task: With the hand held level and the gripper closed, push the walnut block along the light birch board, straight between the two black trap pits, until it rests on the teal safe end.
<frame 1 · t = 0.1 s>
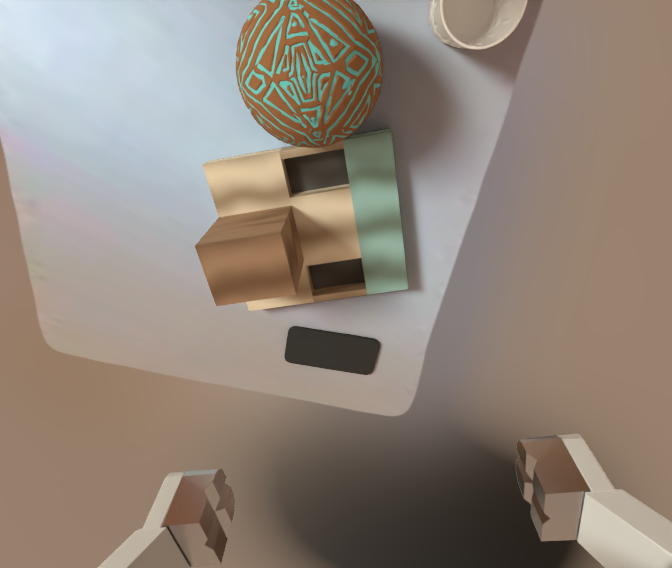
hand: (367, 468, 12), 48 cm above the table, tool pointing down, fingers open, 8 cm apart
walnut block: (262, 239, 57), point 2 cm above the table, touching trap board
white cup: (458, 11, 47), on the table
decorative sphere: (315, 70, 50), on the table
phone: (331, 348, 70), on the table
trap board: (313, 224, 59), on the table
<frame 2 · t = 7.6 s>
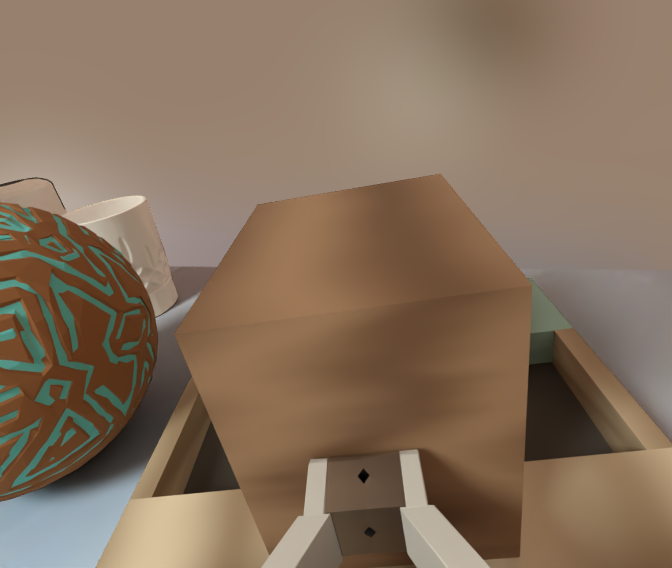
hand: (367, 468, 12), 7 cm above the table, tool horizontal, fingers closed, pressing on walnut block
walnut block: (383, 443, 18), point 3 cm above the table, touching gripper, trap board
white cup: (144, 309, 41), on the table
container: (74, 302, 45), on the table
decorative sphere: (70, 448, 25), on the table
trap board: (387, 473, 20), on the table
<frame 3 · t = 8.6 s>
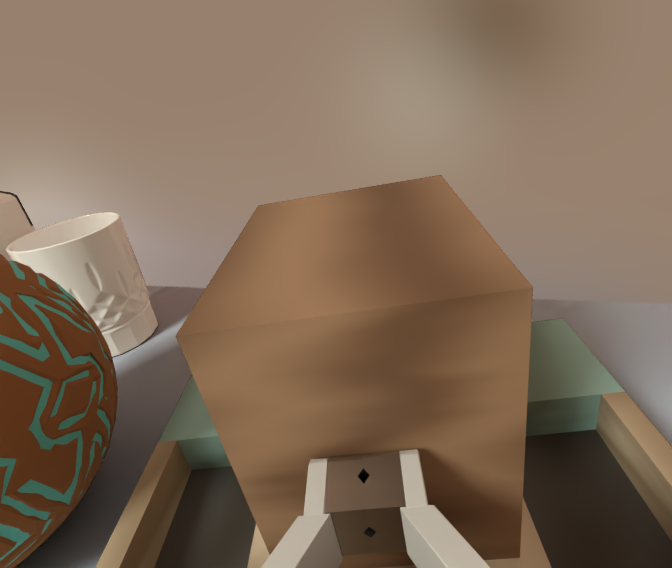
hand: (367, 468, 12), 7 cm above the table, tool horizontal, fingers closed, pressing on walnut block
walnut block: (384, 444, 18), point 3 cm above the table, touching gripper, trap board
white cup: (120, 339, 36), on the table
container: (45, 328, 41), on the table
decorative sphere: (13, 528, 21), on the table
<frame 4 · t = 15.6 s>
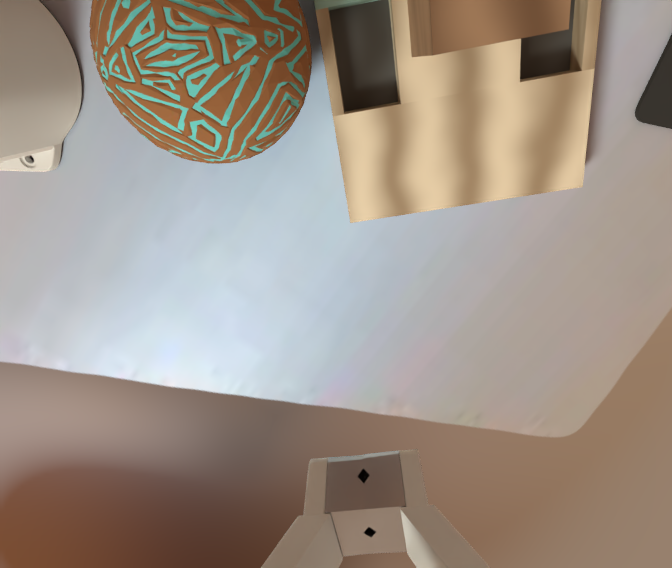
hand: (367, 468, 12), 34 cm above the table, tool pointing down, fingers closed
decorative sphere: (234, 58, 37), on the table
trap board: (452, 67, 37), on the table
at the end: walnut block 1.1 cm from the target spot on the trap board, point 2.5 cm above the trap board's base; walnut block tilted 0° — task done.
